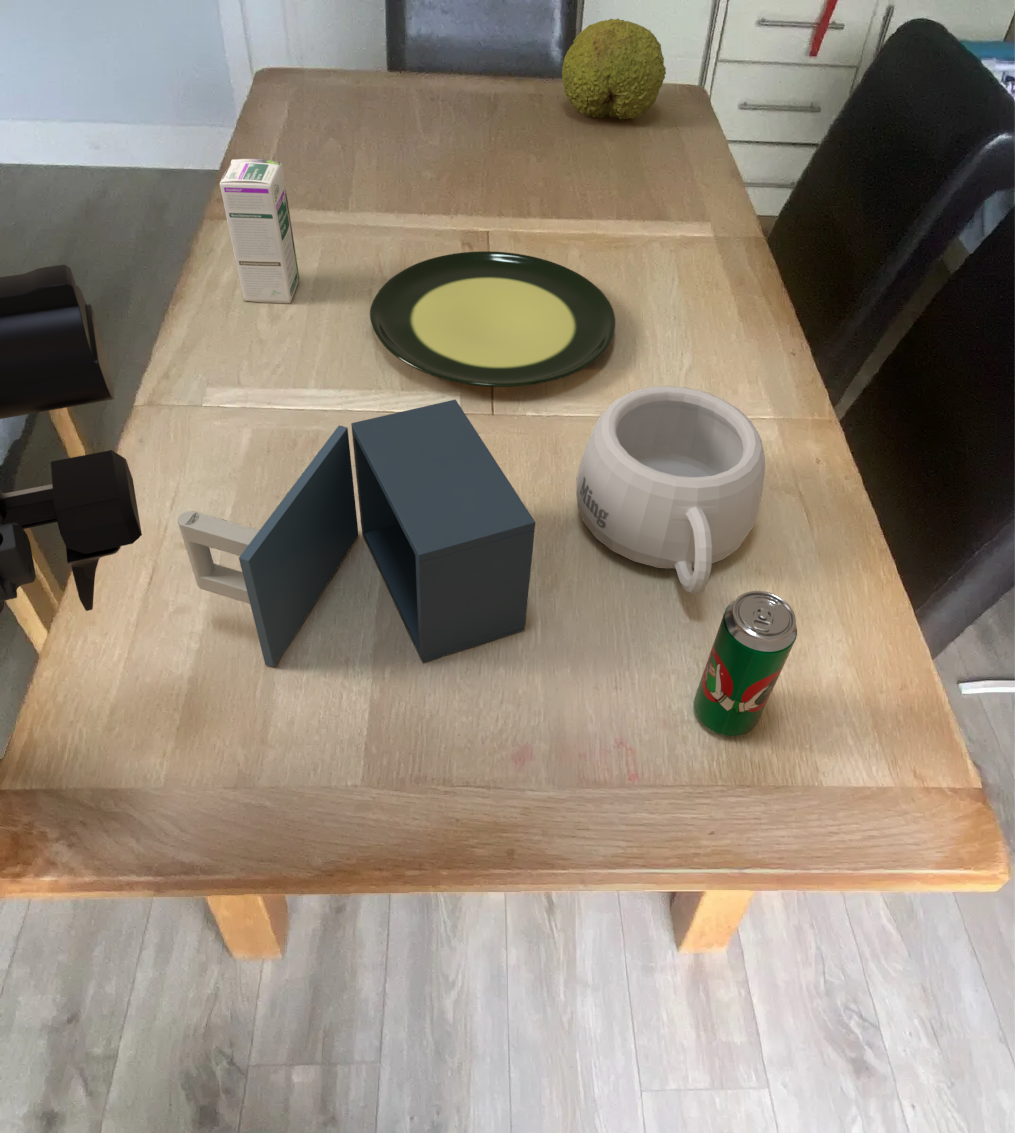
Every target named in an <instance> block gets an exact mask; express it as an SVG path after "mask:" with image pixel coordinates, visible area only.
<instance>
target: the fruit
mask: <svg viewBox="0 0 1015 1133" xmlns="http://www.w3.org/2000/svg"><path fill="white" fill-rule="evenodd" d="M664 60H665V57H664V55H663V51H662V44H661V43H660V42H659V41H658V39H657V36H655V34H654V33H653V32H652V31H651V29H647V27H645V26H643V25H641V24H638V23H634V22H633V21H629V20H625V19H620V18H618V17H617V18H615V19H614V18H610V19H604V20H600V21H597V22H595V23H593V24H589V25H588V26H586V27H585V28H584V29H583V30H581V31H580V32H579V33H578V35H577V36H575V38H574V39H573V41H572V44H571V45H570V46H569V48H568V50H567V51H566V54H565V56H564V58H563V62H562V67H561V69H562V71H561V82H562V83H563V88H564V91H563V93H564V94H565V96H566V97H567V100H568V101H569V103H570V104H571V106H572V107H573V108H575V110H576V111H577V112H578V113H580V114H581V115H585V116H588V117H590V118H594V119H595V118H596V119H602V118H605V117H613V118H618V119H619V121H620V120H628V119H629V120H630V119H631V120H636V119H637V118H639V117H641V116H643V115H646V114H647V111H648V110H650V109H651V107H652V106H653V105H654V104H655V103H656V101H657V98H658V96H659V93H660V90H661V88H662V87H663V86H662V85H663V84H664V80H665V79H666V76H665V75H666V74H667V72H666V70H667V67H665V64H664V63H665V61H664Z"/></svg>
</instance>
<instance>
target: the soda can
mask: <svg viewBox="0 0 1015 1133" xmlns="http://www.w3.org/2000/svg"><path fill="white" fill-rule="evenodd" d="M796 617H797V616H796V614H795V611H794V610H793V608H792V606H791V605H790V604H789V603H788V602H787V601H786V600H784V599H783V598H782V597H780V596H779V595H776V594H774V593H772V592H768V591H764V590H749V591H746V592H743V593H741V594H740V595H739V596H738V597H737V598H735V599H734V600H733V601H732V602H730V603H729V604H728V605H727V607H726V608H725V610H724V612H723V615H722V618H721V621H720V624H719V627H718V629H717V632H716V634H715V635H716V636H715V638H714V641H713V643H712V646H711V650H710V652H709V655H708V658H707V661H706V664H705V666H704V669H703V672H702V675H701V678H700V681H699V684H698V687H697V689H696V693H695V695H694V698H693V709H694V713H695V714H696V717H697V718H698V720H699V721H700V722H701V723H702V724H703V725H704V726H705V728H707V729H708V730H709V731H711V732H713V733H716V734H719V735H720V736H725V737H741V736H745V735H747V734H749V733H750V732H751V731H753V730H754V729H755V728H756V726H758V723H759V721H760V719H761V716H762V715H763V712H764V710H765V708H766V706H767V703H768V702H769V700H770V697H771V694H772V692H773V691H774V688H775V686H776V684H777V681H778V680H779V677H780V675H781V673H782V671H783V669H784V667H785V665H786V662H787V659H788V657H789V655H790V653H791V651H792V649H793V647H794V645H795V642H796V640H797V637H798V627H797V618H796Z"/></svg>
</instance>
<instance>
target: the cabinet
mask: <svg viewBox="0 0 1015 1133" xmlns="http://www.w3.org/2000/svg"><path fill="white" fill-rule="evenodd" d="M350 425H351V426H350V427H351V433H352V434H351V436H352V437H351V438H352V447H353V456H354V467H355V477H356V485H357V486H356V487H357V496H358V497H357V498H358V506H359V514H360V515H359V517H360V527H361V535H362V537H363V539H364V541H365V543H366V546H367V547H368V549H369V552H370V554H371V556H372V558H373V560H374V562H375V565H376V567H377V569H378V571H379V574H380V575H381V577H382V579H383V581H384V584H385V586H386V588H387V590H388V593H389V594H390V597H391V599H392V601H393V603H394V605H395V607H396V610H397V611H398V614H399V616H400V618H401V620H402V622H403V625H404V627H405V628H406V631H407V633H408V635H409V637H410V640H411V641H412V644H413V646H414V648H415V650H416V652H417V655H418V657H419V658H420V660H421V662H422V664H425V663H427V662H428V663H429V662H431V661H434V660H437V659H440V658H444V657H446V656H450V655H453V654H456V653H458V652H463V651H465V650H468V649H472V648H474V647H477V646H480V645H481V646H482V645H485V644H487V643H490V642H493V641H496V640H499V639H502V638H506V637H508V636H513V635H515V634H518V633H522V632H524V631H525V630H526V621H527V612H528V601H529V594H530V583H531V574H532V573H531V571H532V561H533V553H534V552H533V551H534V541H535V531H536V521H535V519H534V518H533V516H532V514H531V513H530V511H529V510H528V508H527V507H526V505H525V504H524V502H523V500H522V499H521V498H520V496H519V495H518V493H517V492H516V490H515V488H514V486H513V485H512V483H511V482H510V481H509V479H508V478H507V476H506V474H505V473H504V472H503V469H502V468H501V467H500V465H499V463H498V462H497V461H496V458H494V456H493V455H492V453H491V452H490V450H489V448H488V446H487V445H486V444H485V442H484V441H483V439H482V438H481V436H480V434H479V433H478V432H477V430H476V428H475V427H474V425H473V424H472V422H471V421H470V419H469V417H468V416H467V414H466V413H465V411H464V410H463V409H462V407H461V405H460V404H459V402H458V401H457V399H451V400H447V401H446V400H445V401H442V402H438V403H433V404H429V405H425V406H420V407H416V408H412V409H411V408H410V409H408V410H403V411H398V412H395V413H394V412H393V413H390V414H385V415H381V416H376V417H371V418H368V419H364V420H363V419H362V420H359V421H354V422H351V423H350Z"/></svg>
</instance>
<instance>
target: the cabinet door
mask: <svg viewBox="0 0 1015 1133" xmlns="http://www.w3.org/2000/svg"><path fill="white" fill-rule="evenodd" d="M355 496H356V495H355V486H354V478H353V466H352V457H351V447H350V438H349V428H348V427H347V426H343V425H338V426H337V427H336V428H335V430H334V431H333V432H332V434H331V435H330V436H329V438H328V439H327V440H326V442H325V443H324V444H323V445H322V447H321V448H320V450H318V452H317V454H316V455H315V456H314V458H313V459H312V460H311V462H309V464H308V465H307V467H306V468H305V469H304V471H303V472H302V473H301V475H300V476H299V477H298V478H297V480H296V481H295V483H294V484H293V485H292V487H291V488H290V489H289V490H288V491H287V493H286V494H285V496H284V497H283V498H282V500H281V501H280V503H278V505H277V507H276V508H275V509H274V510H273V511H272V512H271V514H270V516H269V517H268V518H267V519H266V521H265V522H264V523H263V525H262V526H261V528H260V529H257V528H254V527H251V526H248V525H244V524H240V523H236V522H234V521H231V520H226V519H223V518H219V517H216V516H212V515H209V514H206V513H202V512H198V511H194V510H187V511H184V512H182V513H181V514H180V515H179V516H178V517H177V524H178V528H179V530H180V534H181V537H182V539H183V543H184V547H185V550H186V554H187V556H188V559H189V560H188V561H189V563H190V566H191V570H192V572H193V576H194V580H195V582H196V586H197V587H198V588H199V589H200V590H202V591H206V592H209V593H212V594H215V595H218V596H222V597H226V598H229V599H232V600H235V601H237V602H238V601H239V602H242V603H245V604H249V606H250V610H251V613H252V617H253V621H254V625H255V630H256V633H257V637H258V642H259V645H260V649H261V650H260V651H261V653H262V657H263V662H264V665H265V666H268V667H271V668H275V667H276V665H278V662H279V660H280V659H281V658H282V656H283V654H284V653H285V651H286V650H287V648H288V647H289V645H290V644H291V642H292V640H293V639H294V637H295V636H296V634H297V633H298V631H299V629H300V628H301V626H302V625H303V624H304V622H305V620H306V619H307V617H308V615H309V614H310V612H311V611H312V609H313V608H314V606H315V604H316V603H317V601H318V600H319V598H320V597H321V596H322V593H323V592H324V591H325V589H326V587H327V586H328V584H329V583H330V581H331V580H332V578H333V576H334V575H335V574H336V572H337V570H338V569H339V567H340V566H341V564H342V562H343V561H344V560H345V558H346V556H347V555H348V553H349V552H350V550H351V548H352V547H353V546H354V543H355V542H356V541H357V539H358V538H359V536H360V534H359V526H358V515H357V514H358V513H357V506H356V497H355ZM210 548H211V549H214V550H218V551H221V552H225V553H228V554H231V555H235V556H238V560H239V564H240V569H241V570H237V569H234V568H231V567H228V566H227V567H226V566H224V565H220V564H217V563H214V560H213V556H212V552H211V549H210Z"/></svg>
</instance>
